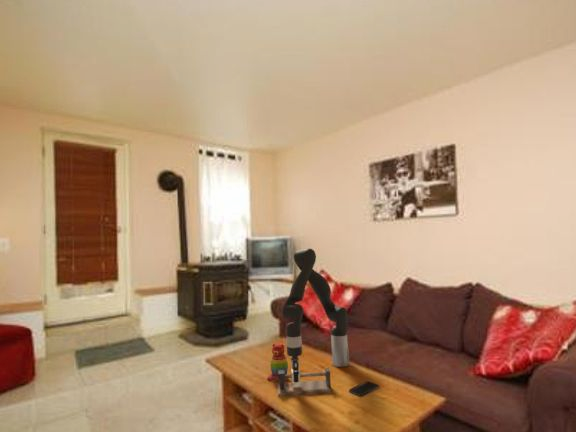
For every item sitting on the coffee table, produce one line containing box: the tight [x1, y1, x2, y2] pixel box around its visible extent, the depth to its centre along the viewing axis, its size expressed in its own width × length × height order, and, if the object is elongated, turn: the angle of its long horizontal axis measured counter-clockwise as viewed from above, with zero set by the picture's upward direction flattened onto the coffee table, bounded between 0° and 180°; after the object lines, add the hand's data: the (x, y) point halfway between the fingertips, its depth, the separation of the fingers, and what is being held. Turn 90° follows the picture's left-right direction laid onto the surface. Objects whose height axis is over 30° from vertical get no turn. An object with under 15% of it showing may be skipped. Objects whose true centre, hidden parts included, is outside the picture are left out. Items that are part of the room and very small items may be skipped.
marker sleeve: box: [290, 368, 301, 383], centre depth 173 cm, size 4×5×5 cm
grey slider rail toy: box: [277, 367, 333, 398], centre depth 173 cm, size 26×12×9 cm, turn 93°
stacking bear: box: [266, 343, 289, 382], centre depth 188 cm, size 11×10×18 cm
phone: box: [348, 381, 380, 398], centre depth 170 cm, size 8×1×15 cm
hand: (295, 379), depth 173 cm, fingers closed on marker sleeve, 5 cm apart
